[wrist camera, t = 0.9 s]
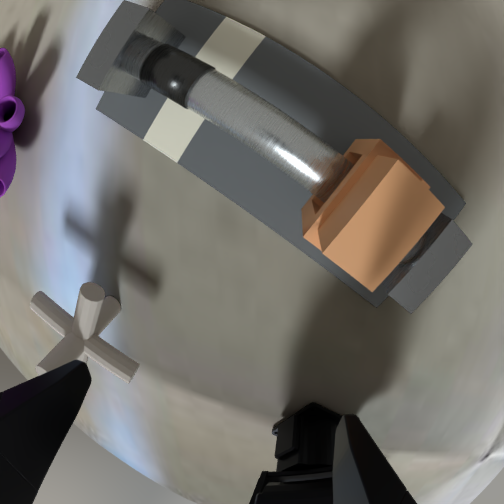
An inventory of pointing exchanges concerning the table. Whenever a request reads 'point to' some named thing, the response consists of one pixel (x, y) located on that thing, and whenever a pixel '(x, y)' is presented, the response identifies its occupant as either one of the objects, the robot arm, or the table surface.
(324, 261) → the grey base plate
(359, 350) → the table surface
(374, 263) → the collar
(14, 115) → the purple tube cluster
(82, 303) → the pipe connector
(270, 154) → the linear slide rail
